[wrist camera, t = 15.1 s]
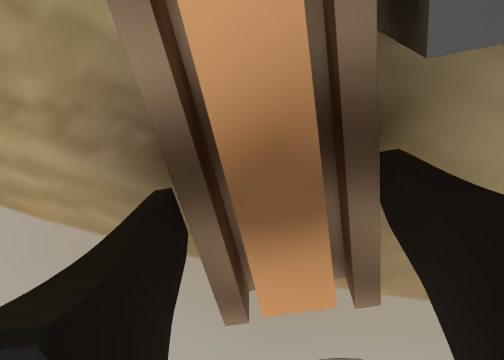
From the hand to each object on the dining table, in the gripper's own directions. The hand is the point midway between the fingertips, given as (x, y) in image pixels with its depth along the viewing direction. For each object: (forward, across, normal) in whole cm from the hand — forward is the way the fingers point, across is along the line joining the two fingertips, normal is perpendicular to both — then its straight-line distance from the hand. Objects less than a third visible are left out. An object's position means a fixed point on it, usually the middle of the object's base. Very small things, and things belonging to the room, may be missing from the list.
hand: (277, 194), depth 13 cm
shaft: (+3, 0, -2) cm, 4 cm away
